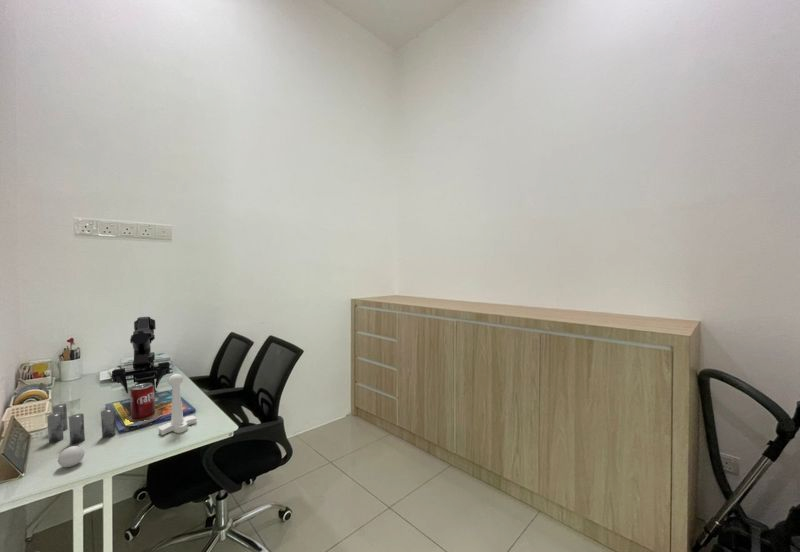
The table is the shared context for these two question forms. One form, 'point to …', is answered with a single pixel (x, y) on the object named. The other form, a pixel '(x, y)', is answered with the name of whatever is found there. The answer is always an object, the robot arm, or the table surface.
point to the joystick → (176, 409)
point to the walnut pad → (157, 413)
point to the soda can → (142, 401)
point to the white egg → (71, 456)
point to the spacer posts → (76, 425)
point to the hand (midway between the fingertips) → (142, 390)
